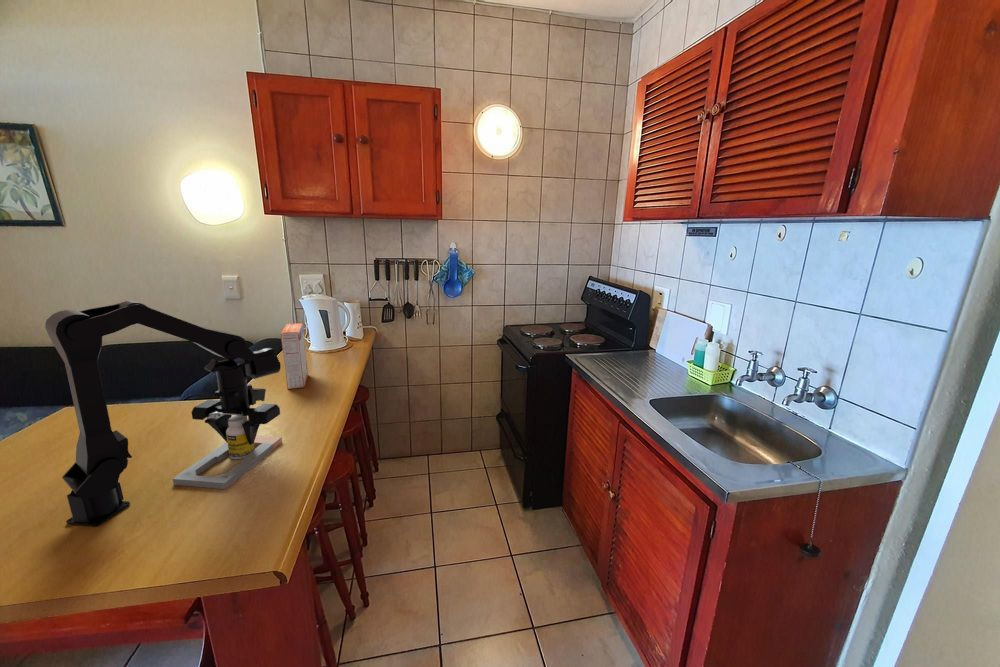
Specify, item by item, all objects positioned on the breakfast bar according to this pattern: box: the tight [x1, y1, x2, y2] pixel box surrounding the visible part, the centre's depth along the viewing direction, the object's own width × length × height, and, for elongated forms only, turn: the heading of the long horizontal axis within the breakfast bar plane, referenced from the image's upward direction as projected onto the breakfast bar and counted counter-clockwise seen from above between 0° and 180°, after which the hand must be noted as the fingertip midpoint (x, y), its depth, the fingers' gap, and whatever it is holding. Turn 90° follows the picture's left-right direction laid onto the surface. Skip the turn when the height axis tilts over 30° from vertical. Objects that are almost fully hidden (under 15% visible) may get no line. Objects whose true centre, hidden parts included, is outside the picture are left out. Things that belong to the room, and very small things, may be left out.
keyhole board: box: [172, 434, 283, 490], centre depth 95 cm, size 20×12×2 cm, turn 176°
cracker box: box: [280, 322, 309, 390], centre depth 143 cm, size 14×6×21 cm, turn 20°
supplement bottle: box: [226, 415, 255, 460], centre depth 97 cm, size 5×5×10 cm
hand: (240, 443), depth 98 cm, fingers closed on supplement bottle, 5 cm apart
